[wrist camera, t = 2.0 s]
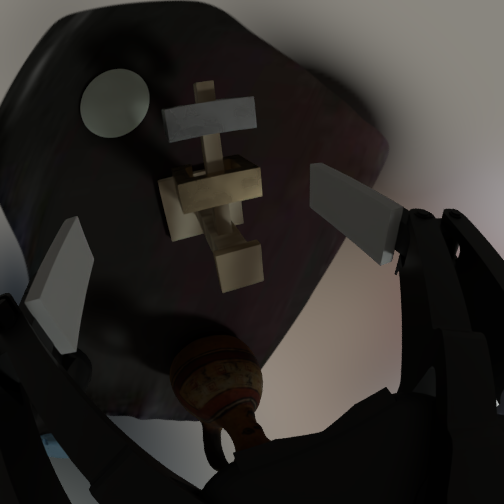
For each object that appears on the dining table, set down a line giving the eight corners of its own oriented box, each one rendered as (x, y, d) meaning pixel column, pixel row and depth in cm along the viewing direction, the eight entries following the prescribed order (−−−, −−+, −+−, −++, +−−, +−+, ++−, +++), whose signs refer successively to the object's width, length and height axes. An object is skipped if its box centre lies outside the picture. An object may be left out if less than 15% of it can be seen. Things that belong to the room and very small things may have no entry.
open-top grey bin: (165, 134, 27) (169, 142, 22) (161, 109, 26) (164, 109, 20) (234, 122, 29) (256, 127, 24) (231, 97, 28) (253, 96, 22)
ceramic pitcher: (263, 338, 65) (323, 443, 41) (216, 385, 69) (255, 481, 45) (197, 315, 54) (248, 454, 30) (152, 370, 58) (179, 489, 34)
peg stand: (171, 238, 44) (192, 322, 28) (142, 98, 31) (136, 91, 16) (241, 220, 47) (296, 289, 31) (225, 84, 34) (289, 72, 19)
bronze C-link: (175, 192, 31) (183, 214, 26) (171, 168, 30) (177, 185, 24) (240, 177, 33) (262, 195, 28) (238, 154, 31) (260, 167, 26)
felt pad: (88, 146, 32) (87, 146, 31) (77, 81, 26) (75, 81, 26) (154, 126, 34) (154, 127, 34) (145, 61, 29) (145, 61, 28)
